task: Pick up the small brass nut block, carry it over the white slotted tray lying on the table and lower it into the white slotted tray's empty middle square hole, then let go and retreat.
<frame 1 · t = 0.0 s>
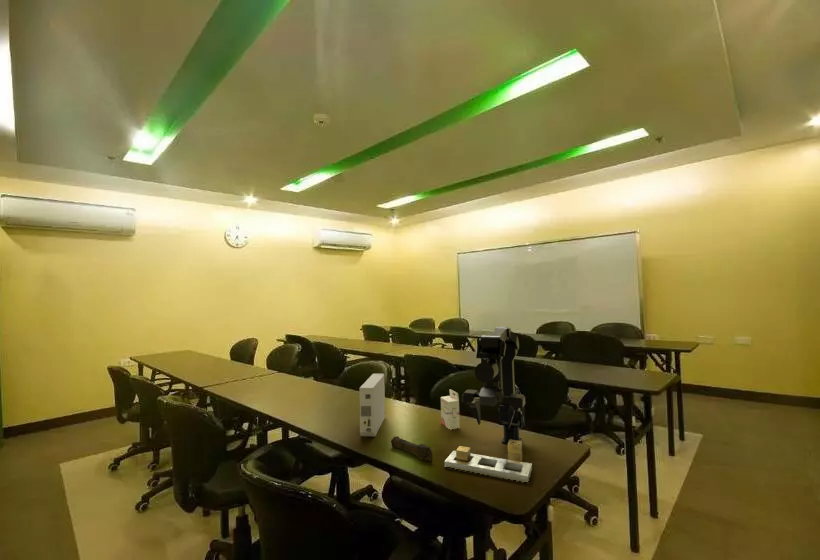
hand: (493, 426, 115), 15 cm above the table, tool pointing down, fingers open, 9 cm apart
dark brown elongated piece: (413, 454, 131), on the table
nut block: (515, 460, 124), on the table
game console: (374, 427, 159), on the table
white slotted tray: (487, 468, 118), on the table
ink cartridge box: (450, 426, 158), on the table
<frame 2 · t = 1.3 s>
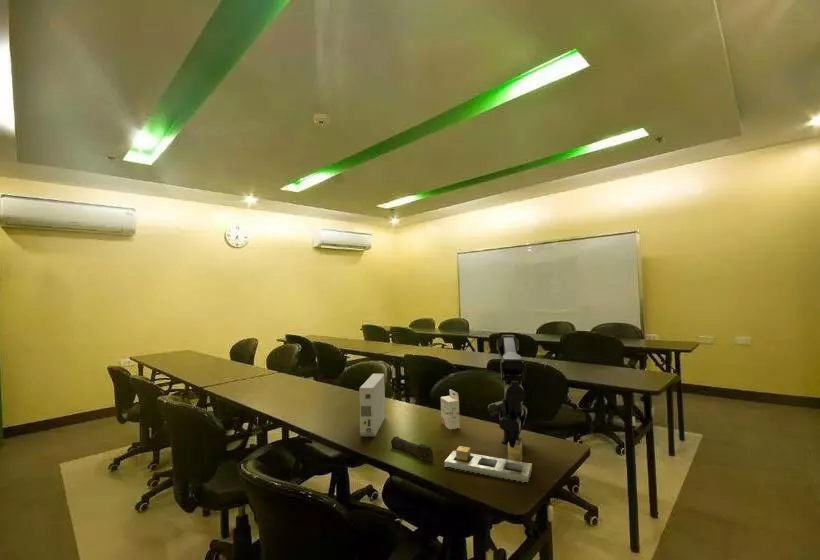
hand: (514, 442, 124), 6 cm above the table, tool pointing down, fingers open, 9 cm apart
nothing on the table moved.
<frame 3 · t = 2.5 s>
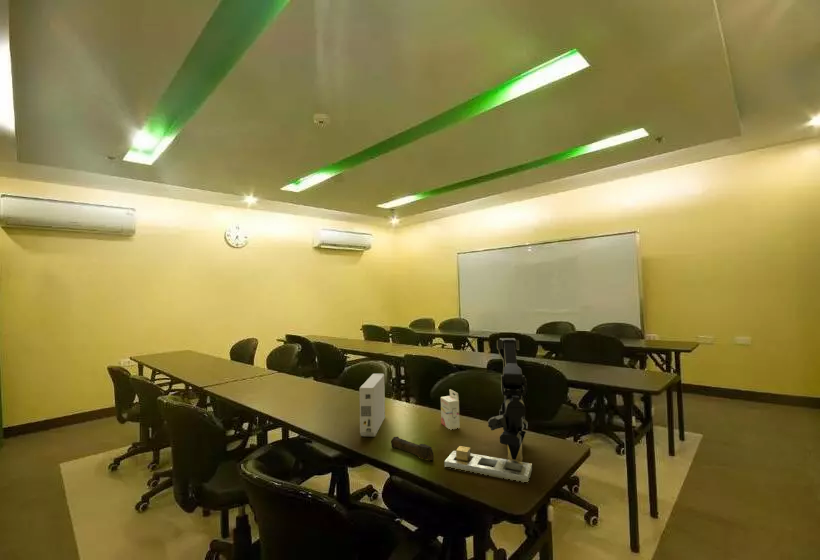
hand: (515, 456, 124), 1 cm above the table, tool pointing down, fingers closed on nut block, 4 cm apart
nut block: (515, 460, 124), on the table, touching gripper
everything else where it was.
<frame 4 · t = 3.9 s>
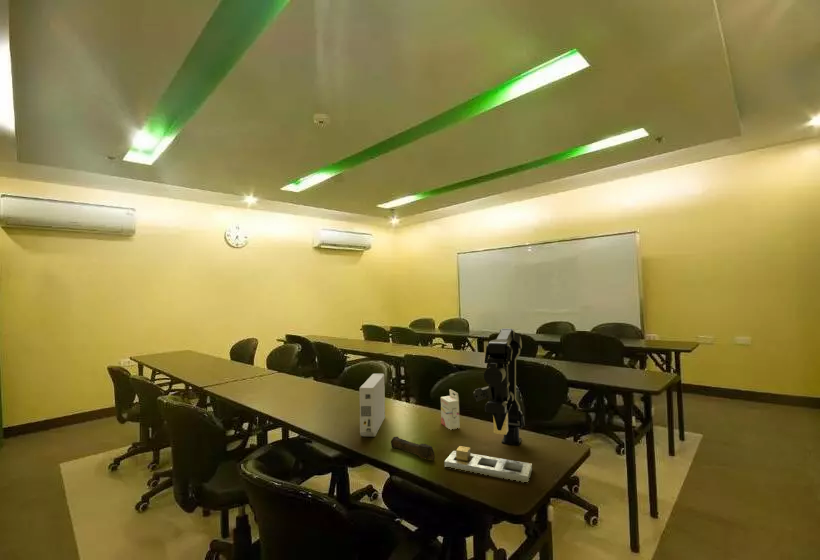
hand: (500, 428, 121), 12 cm above the table, tool pointing down, fingers closed on nut block, 4 cm apart
nut block: (501, 431, 121), point 11 cm above the table, touching gripper
everything else where it was.
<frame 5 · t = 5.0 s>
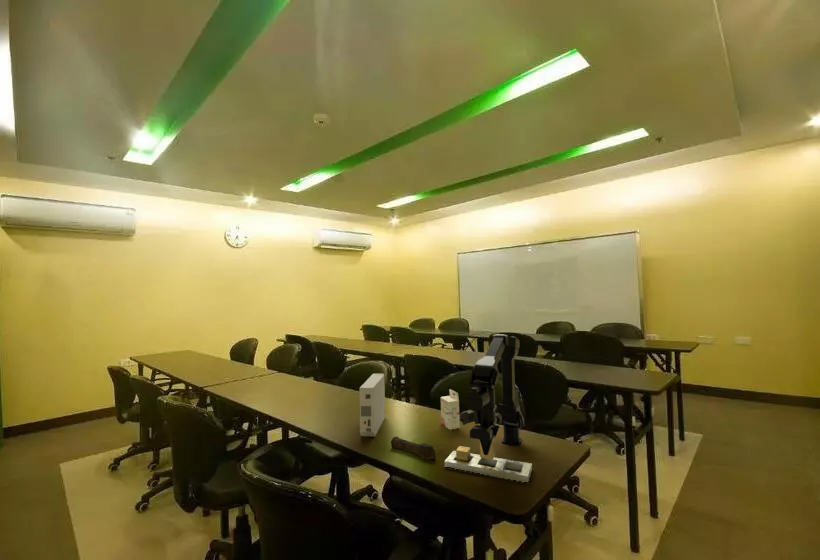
hand: (487, 452, 118), 5 cm above the table, tool pointing down, fingers closed on nut block, 4 cm apart
nut block: (487, 456, 118), point 4 cm above the table, touching gripper
everything else where it was.
when the fingers open (3 cm above the table, at t = 5.7 s): nut block drops 2 cm, resting in white slotted tray.
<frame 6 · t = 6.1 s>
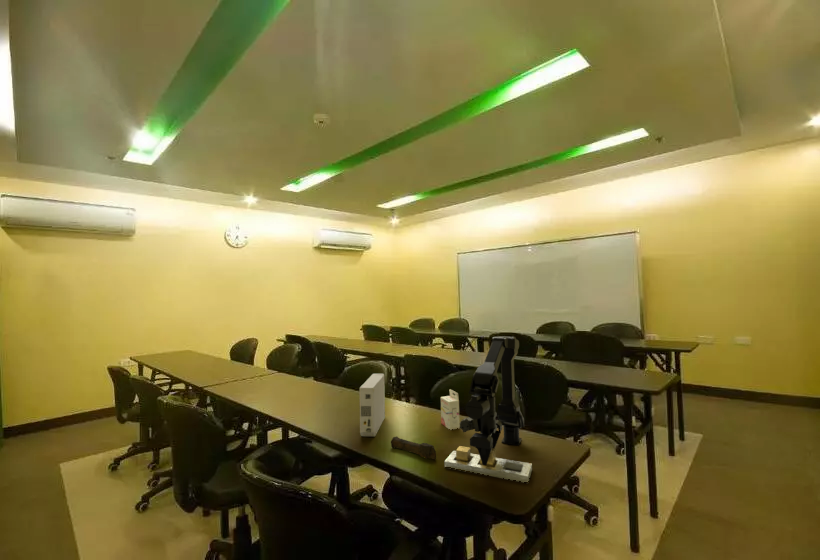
hand: (487, 459, 118), 3 cm above the table, tool pointing down, fingers open, 8 cm apart
nut block: (488, 468, 118), resting in white slotted tray
everything else where it was.
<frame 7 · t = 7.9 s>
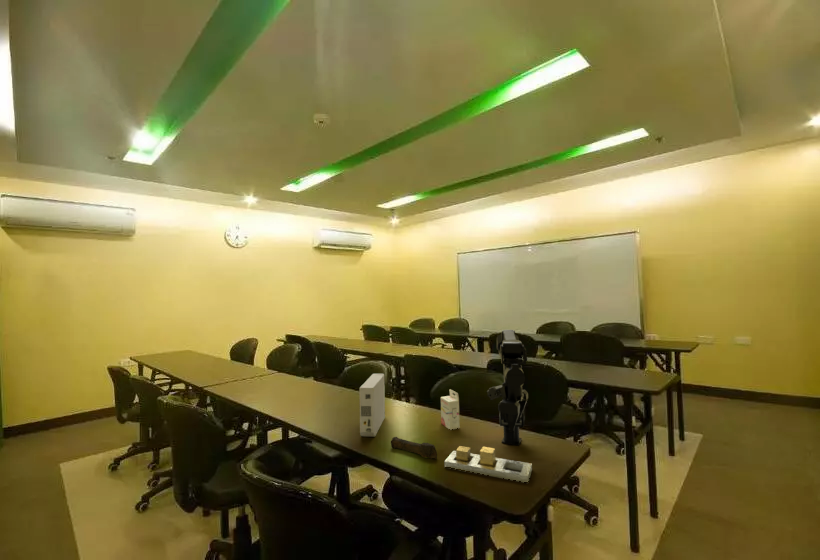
hand: (514, 426, 123), 12 cm above the table, tool pointing down, fingers open, 9 cm apart
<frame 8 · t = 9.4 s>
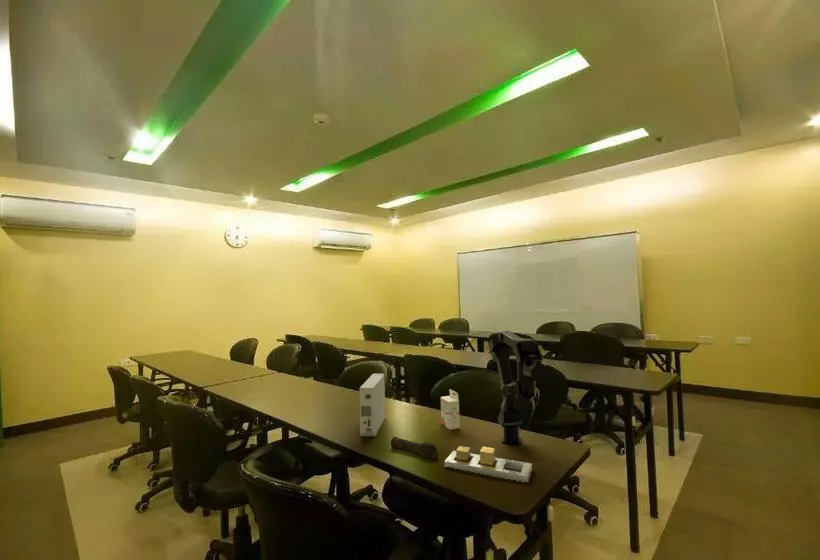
hand: (527, 422, 125), 12 cm above the table, tool pointing down, fingers open, 9 cm apart
at the end: nut block 0.1 cm off-centre on the white slotted tray, point 0.0 cm above the white slotted tray's base; nut block tilted 0°; the gripper is holding nothing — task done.
